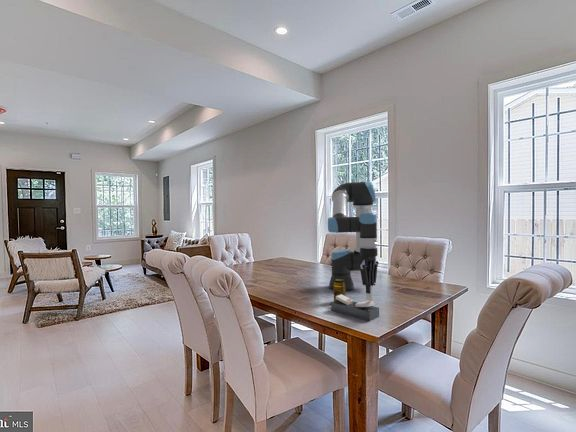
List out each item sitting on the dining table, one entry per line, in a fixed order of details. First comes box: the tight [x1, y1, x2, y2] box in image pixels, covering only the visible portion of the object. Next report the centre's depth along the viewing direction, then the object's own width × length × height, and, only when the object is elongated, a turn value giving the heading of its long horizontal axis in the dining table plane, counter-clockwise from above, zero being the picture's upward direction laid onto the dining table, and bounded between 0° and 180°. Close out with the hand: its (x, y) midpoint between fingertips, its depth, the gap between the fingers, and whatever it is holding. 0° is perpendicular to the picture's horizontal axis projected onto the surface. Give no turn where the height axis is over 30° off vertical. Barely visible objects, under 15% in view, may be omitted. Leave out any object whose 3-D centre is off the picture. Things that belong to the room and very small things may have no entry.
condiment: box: [333, 279, 346, 301], centre depth 160 cm, size 7×8×12 cm
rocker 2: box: [355, 300, 375, 307], centre depth 138 cm, size 7×4×2 cm, turn 44°
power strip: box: [329, 300, 380, 322], centre depth 143 cm, size 25×8×5 cm, turn 44°
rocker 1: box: [336, 294, 354, 305], centre depth 146 cm, size 7×4×2 cm, turn 44°
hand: (369, 299), depth 136 cm, fingers closed
